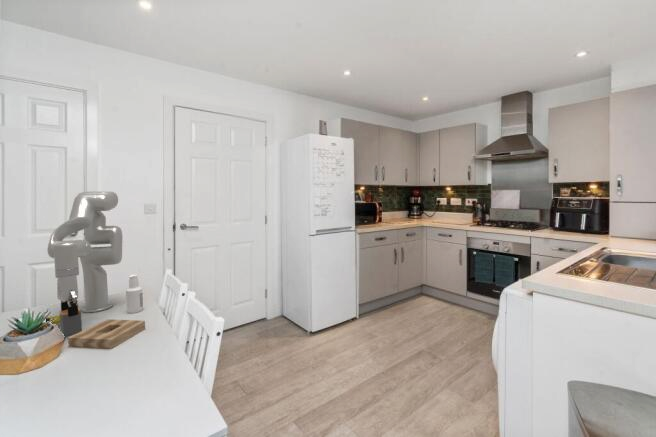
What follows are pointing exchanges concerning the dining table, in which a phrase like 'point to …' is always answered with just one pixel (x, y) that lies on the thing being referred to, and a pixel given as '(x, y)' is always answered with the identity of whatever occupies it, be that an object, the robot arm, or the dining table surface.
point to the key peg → (70, 323)
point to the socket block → (106, 334)
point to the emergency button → (54, 320)
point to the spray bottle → (134, 295)
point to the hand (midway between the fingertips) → (69, 313)
